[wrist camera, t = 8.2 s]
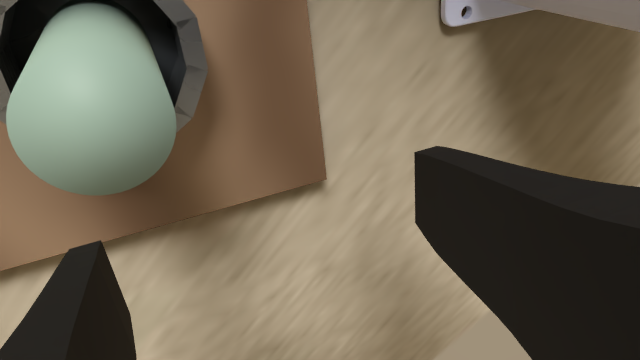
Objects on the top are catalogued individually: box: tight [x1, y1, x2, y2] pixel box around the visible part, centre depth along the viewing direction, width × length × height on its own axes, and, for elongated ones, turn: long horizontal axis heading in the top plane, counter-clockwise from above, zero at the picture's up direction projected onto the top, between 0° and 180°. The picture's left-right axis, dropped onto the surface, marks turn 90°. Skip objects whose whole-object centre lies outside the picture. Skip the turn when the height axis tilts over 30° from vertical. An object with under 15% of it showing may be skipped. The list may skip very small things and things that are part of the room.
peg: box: [6, 0, 176, 195], centre depth 13 cm, size 3×3×7 cm
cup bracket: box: [0, 0, 327, 271], centre depth 15 cm, size 14×14×5 cm
